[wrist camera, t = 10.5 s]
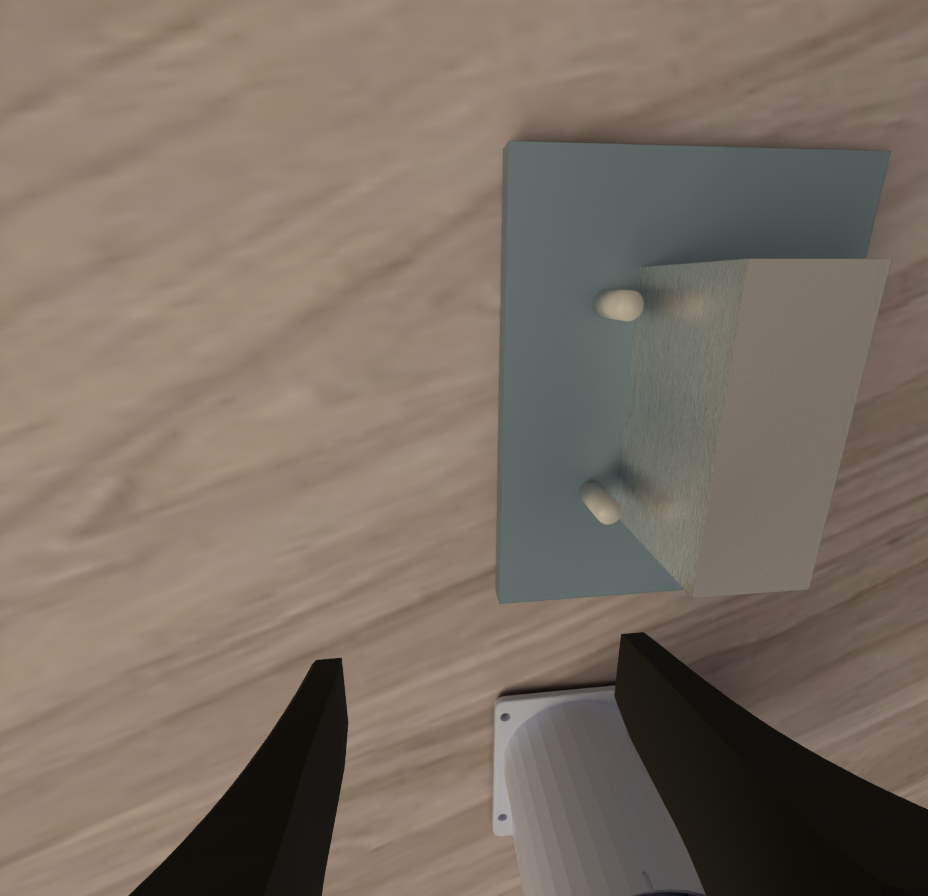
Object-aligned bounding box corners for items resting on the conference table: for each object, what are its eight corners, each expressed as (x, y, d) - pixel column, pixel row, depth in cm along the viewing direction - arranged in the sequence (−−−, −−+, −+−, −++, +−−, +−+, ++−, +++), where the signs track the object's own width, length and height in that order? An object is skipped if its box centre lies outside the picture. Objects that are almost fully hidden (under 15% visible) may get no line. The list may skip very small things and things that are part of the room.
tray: (774, 570, 24) (823, 607, 22) (495, 590, 23) (508, 633, 20) (866, 158, 19) (948, 135, 16) (503, 148, 17) (522, 122, 14)
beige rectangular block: (704, 509, 22) (811, 589, 16) (615, 514, 21) (692, 598, 16) (744, 267, 18) (895, 259, 13) (640, 267, 18) (748, 258, 12)
